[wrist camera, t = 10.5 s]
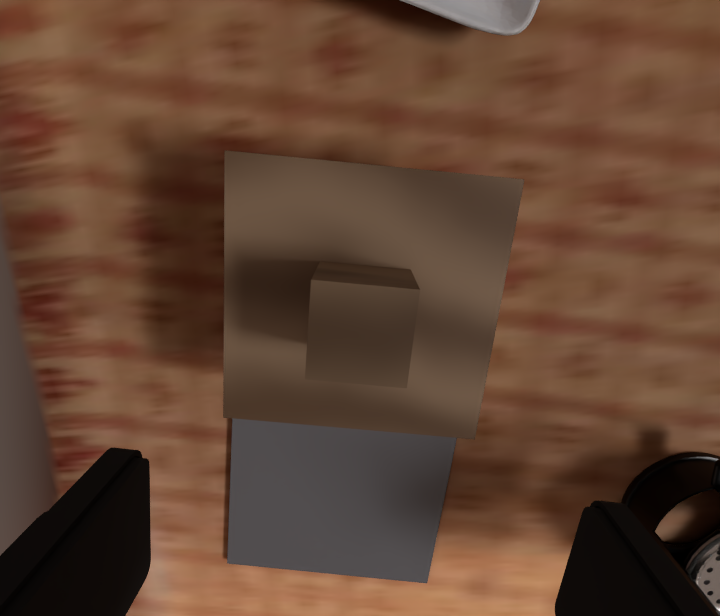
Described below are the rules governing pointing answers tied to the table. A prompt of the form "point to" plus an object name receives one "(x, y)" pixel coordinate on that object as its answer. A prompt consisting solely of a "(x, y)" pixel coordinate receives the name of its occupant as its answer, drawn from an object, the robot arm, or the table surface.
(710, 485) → the french press
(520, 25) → the salad plate
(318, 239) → the walnut lid
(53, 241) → the table surface
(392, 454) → the rubber mat
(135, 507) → the robot arm
